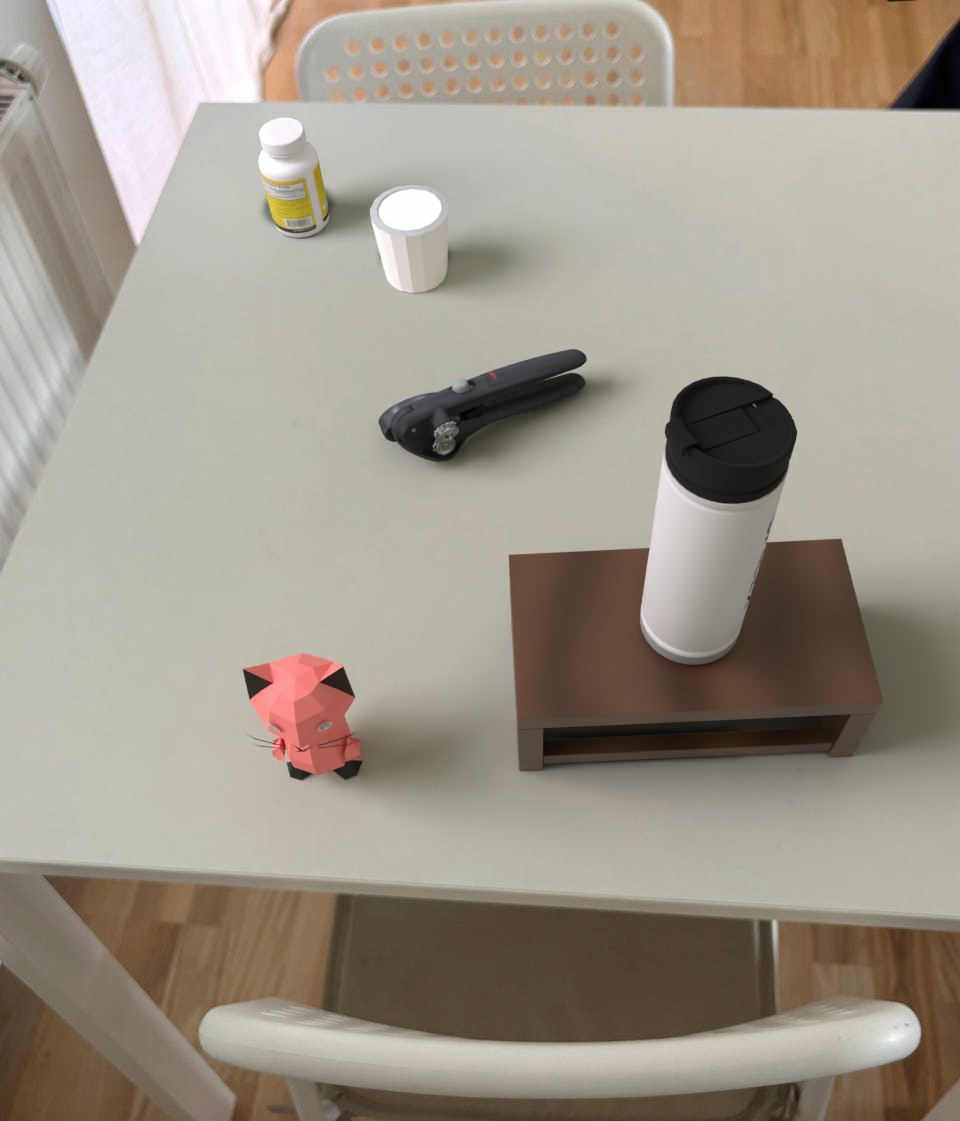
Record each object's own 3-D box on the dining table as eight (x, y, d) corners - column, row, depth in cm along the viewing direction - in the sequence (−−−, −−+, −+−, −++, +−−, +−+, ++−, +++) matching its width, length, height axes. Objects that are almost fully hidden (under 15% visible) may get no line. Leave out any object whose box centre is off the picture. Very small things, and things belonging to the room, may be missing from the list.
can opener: (406, 488, 87) (399, 442, 82) (374, 427, 90) (365, 380, 86) (606, 411, 90) (610, 362, 86) (567, 355, 94) (568, 306, 89)
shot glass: (411, 309, 98) (403, 246, 92) (363, 271, 101) (353, 208, 95) (469, 272, 100) (465, 209, 94) (421, 236, 103) (414, 172, 97)
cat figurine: (268, 801, 73) (225, 722, 63) (278, 707, 76) (239, 619, 66) (374, 799, 72) (349, 719, 62) (379, 705, 76) (356, 616, 66)
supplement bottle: (304, 194, 107) (285, 104, 99) (341, 218, 105) (325, 128, 97) (262, 222, 105) (239, 132, 97) (298, 247, 103) (278, 157, 95)
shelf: (816, 601, 79) (841, 538, 73) (852, 756, 73) (883, 702, 66) (511, 616, 80) (508, 554, 73) (519, 771, 73) (516, 718, 66)
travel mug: (617, 604, 71) (641, 391, 54) (707, 568, 72) (758, 348, 55) (664, 683, 67) (705, 483, 51) (758, 644, 68) (828, 435, 52)
